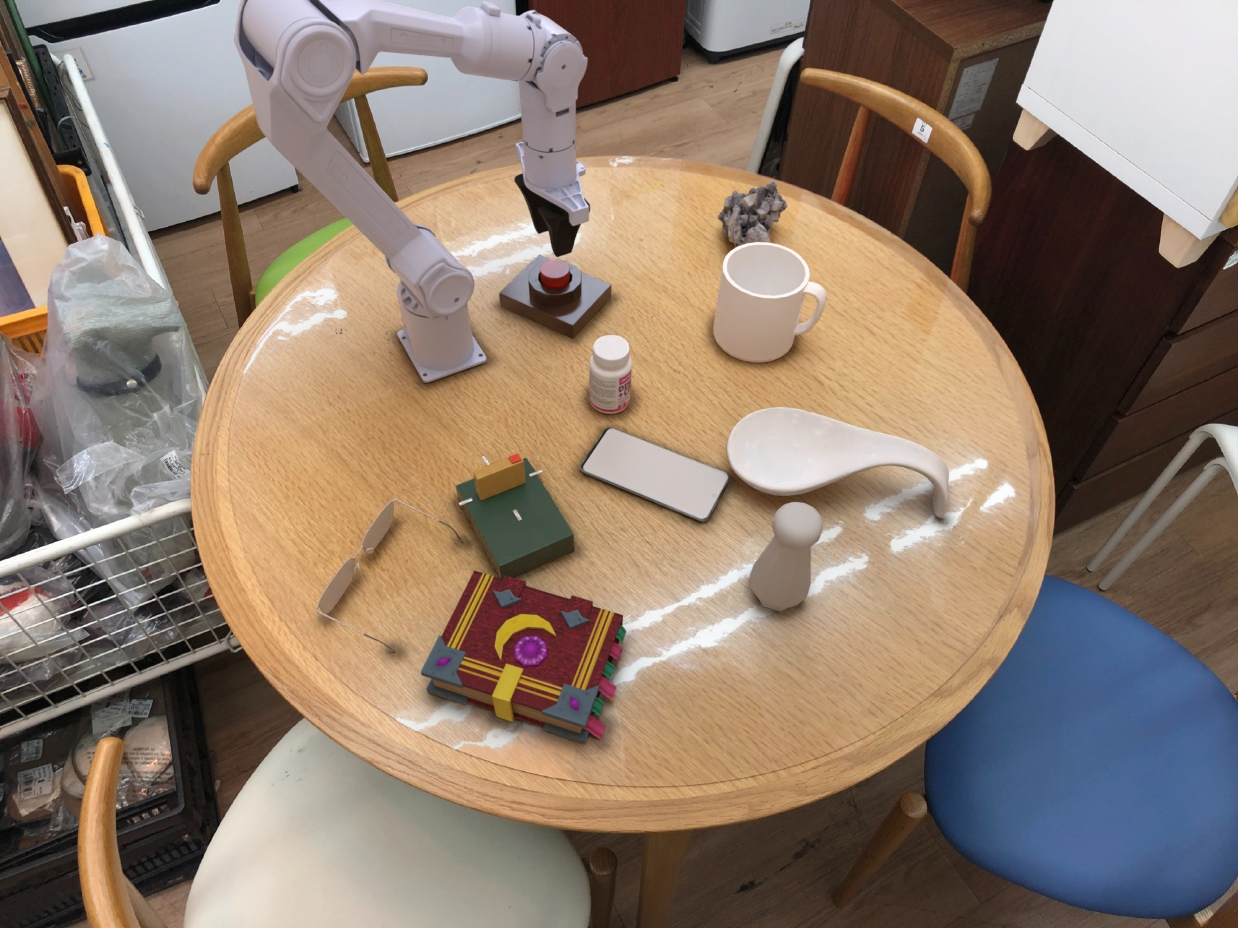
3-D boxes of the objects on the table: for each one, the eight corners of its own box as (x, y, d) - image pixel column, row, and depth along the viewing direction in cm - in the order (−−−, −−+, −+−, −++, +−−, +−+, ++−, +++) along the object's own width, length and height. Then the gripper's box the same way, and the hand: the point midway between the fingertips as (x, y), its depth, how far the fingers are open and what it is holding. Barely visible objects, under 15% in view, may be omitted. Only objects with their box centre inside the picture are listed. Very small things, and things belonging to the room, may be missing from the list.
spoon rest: (715, 500, 94) (723, 458, 88) (732, 419, 101) (740, 376, 96) (942, 547, 91) (966, 506, 85) (943, 460, 98) (965, 417, 93)
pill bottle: (625, 418, 101) (628, 366, 94) (585, 411, 101) (584, 358, 95) (633, 388, 104) (636, 335, 97) (594, 382, 104) (594, 329, 98)
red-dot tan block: (480, 501, 90) (477, 477, 87) (476, 492, 90) (472, 469, 87) (526, 482, 91) (523, 459, 88) (521, 474, 92) (518, 451, 89)
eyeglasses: (397, 514, 92) (393, 492, 89) (466, 543, 91) (465, 522, 87) (319, 625, 84) (311, 605, 81) (394, 658, 83) (389, 640, 79)
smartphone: (607, 425, 99) (731, 474, 95) (607, 428, 100) (731, 477, 96) (578, 468, 95) (706, 521, 91) (578, 472, 96) (705, 524, 92)
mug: (700, 348, 108) (709, 282, 100) (728, 299, 114) (739, 233, 106) (799, 380, 105) (817, 315, 97) (823, 328, 111) (841, 263, 103)
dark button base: (500, 306, 112) (497, 281, 109) (540, 267, 117) (538, 243, 114) (573, 339, 109) (572, 314, 106) (611, 297, 114) (612, 273, 111)
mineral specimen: (769, 262, 113) (768, 180, 110) (702, 263, 117) (700, 184, 115) (800, 254, 123) (800, 179, 120) (737, 256, 128) (736, 183, 125)
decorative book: (478, 590, 87) (473, 563, 83) (636, 638, 84) (638, 612, 80) (427, 694, 80) (418, 670, 76) (597, 750, 77) (597, 728, 73)
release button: (535, 282, 110) (534, 271, 108) (551, 267, 112) (550, 255, 110) (559, 293, 109) (558, 282, 107) (575, 277, 111) (575, 265, 109)
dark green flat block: (445, 490, 94) (441, 472, 92) (524, 459, 97) (523, 440, 94) (496, 585, 87) (493, 568, 85) (579, 548, 90) (579, 530, 87)
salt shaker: (742, 568, 89) (761, 491, 79) (798, 565, 89) (824, 488, 79) (752, 621, 85) (774, 546, 75) (811, 617, 86) (840, 542, 75)
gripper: (614, 162, 92) (612, 266, 103) (553, 97, 100) (556, 200, 111) (553, 180, 90) (557, 285, 101) (495, 112, 98) (505, 215, 109)
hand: (553, 241), depth 106 cm, fingers open, 4 cm apart
